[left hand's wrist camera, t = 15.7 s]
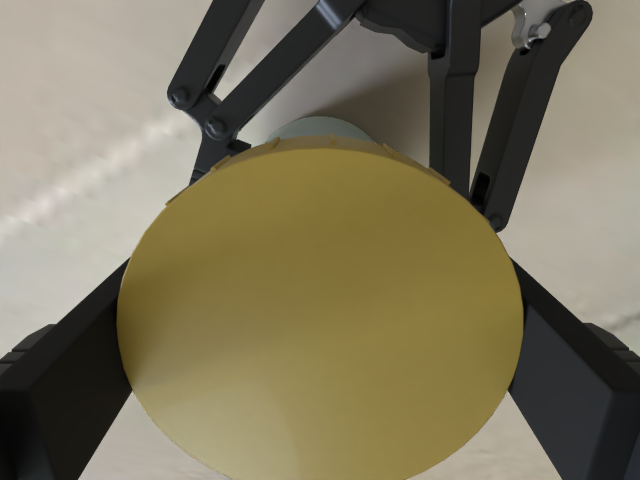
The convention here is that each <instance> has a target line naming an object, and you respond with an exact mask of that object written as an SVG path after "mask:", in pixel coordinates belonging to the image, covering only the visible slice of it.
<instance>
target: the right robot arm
mask: <svg viewBox="0 0 640 480" xmlns="http://www.w3.org/2000/svg"><path fill="white" fill-rule="evenodd" d="M264 1H265V0H213V2H212V3H211V5H210V7H209V9H208V11H207V13H206V15H205V17H204V19H203V21H202V23H201V25H200V27H199V29H198V31H197V33H196V34H195V36H194V38H193V40H192V42H191V44H190V46H189V48H188V50H187V52H186V54H185V56H184V58H183V60H182V62H181V64H180V65H179V67H178V69H177V71H176V73H175V75H174V77H173V79H172V81H171V83H170V85H169V87H168V91H167V96H168V100H169V102H170V104H171V105H173V106H174V107H175V108H177V109H179V110H182V111H184V112H185V113H186V114H187V115H188V116H190V117H191V118H192V119H193V120H194V121H195V122H196V123H197V124H198V125H199V127H200V129H201V132H202V142H201V145H200V149H199V152H198V156H197V159H196V162H195V166H194V170H193V173H192V176H191V180H190V183H189V186H191V185H193V184H194V183H195V182H196V181H198V180H199V179H200V178H202V177H203V176H204V175H205V174H207V173H208V172H209V171H211V168H212V167H213V166H214V165H216V164H217V163H218V162H220V161H221V160H222V159H224V158H225V157H226V156H228V155H230V157H233V156H235V155H237V154H240V153H242V152H244V151H246V150H248V149H250V148H251V144H248V143H246V142H243V141H241V140H238V139H237V140H236V138H237V135H238V132H239V131H241V129H242V128H243V127H244V126H245V125H246V124H247V123H248V122H249V121H250V120H251V119H252V118H253V117H254V116H255V115H256V114H257V113H258V112H259V111H260V110H261V109H262V108H263V107H264V106H265V105H266V104H267V103H268V102H269V101H270V100H271V99H272V98H273V97H274V96H275V95H276V94H277V93H278V92H279V91H280V90H281V89H282V88H283V87H284V86H285V85H286V84H287V83H288V82H289V81H290V80H291V79H292V78H293V77H294V76H295V75H296V74H297V73H298V72H299V71H300V70H301V69H302V68H303V67H304V66H305V65H306V64H307V63H308V62H309V61H310V60H311V59H312V58H313V57H315V56H316V55H317V54H318V53H319V52H320V51H321V50H322V49H323V48H324V47H325V46H326V45H327V44H328V43H329V42H330V41H331V40H332V39H333V38H334V37H335V36H336V35H337V34H338V33H339V32H341V31H342V30H343V29H344V28H345V27H346V26H347V25H348V24H349V23H350V22H351V21H352V20H353V19H354V18H355V17H356V18H357V20H359V21H360V22H361V24H360V25H361V26H363V27H365V28H367V29H369V30H372V31H374V32H378V33H385V34H393V35H395V36H396V37H397V38H398V39H399V40H400V41H402V42H403V43H404V44H405V45H406V46H407V47H409V48H412V49H414V50H416V51H418V52H421V53H425V52H428V75H429V78H430V150H429V167H431V168H432V169H434V170H435V171H436V172H438V173H439V174H440V175H442V176H443V177H444V178H446V179H447V180H448V181H450V182H451V183H450V184H449V186H450V187H451V188H452V189H454V190H455V191H456V192H457V193H459V194H460V195H461V196H463V197H464V198H465V199H466V200H467V201H468V202H469V203H470V204H471V205H472V206H473V207H474V208H475V209H476V210H477V211H478V212H479V213H480V214H482V215H483V216H484V217H485V218H487V219H488V220H489V222H490V223H489V225H490V226H491V227H492V229H493V230H494V232H495V233H497V232H500V231H502V230H503V229H504V228H505V227H506V225H507V223H508V221H509V218H510V215H511V212H512V209H513V206H514V203H515V200H516V197H517V194H518V191H519V188H520V185H521V182H522V179H523V176H524V173H525V170H526V167H527V164H528V161H529V158H530V155H531V152H532V149H533V146H534V143H535V140H536V137H537V135H538V132H539V129H540V126H541V123H542V120H543V117H544V114H545V111H546V108H547V105H548V102H549V99H550V96H551V93H552V90H553V87H554V84H555V81H556V78H557V75H558V72H559V69H560V66H561V64H562V63H563V61H564V60H565V59H566V57H567V56H568V54H569V53H570V52H571V50H572V49H573V47H574V46H575V44H576V43H577V42H578V40H579V39H580V37H581V36H582V34H583V33H584V32H585V30H586V29H587V27H588V26H589V24H590V22H591V20H592V15H593V11H592V7H591V5H590V4H589V3H588V2H587V1H584V0H576V1H573V2H570V3H565V2H563V1H562V0H319V1H318V2H317V4H316V5H315V6H314V7H313V8H312V9H311V10H310V11H309V12H308V13H307V15H306V16H305V17H304V18H303V19H302V20H301V21H300V22H299V23H298V24H297V25H296V26H295V27H294V28H293V29H292V30H291V31H290V32H289V33H288V34H287V35H286V36H285V37H284V38H283V39H282V40H281V41H280V42H279V43H278V44H277V45H276V46H275V47H274V49H273V50H272V51H271V52H270V53H269V54H268V55H267V56H266V57H265V58H264V59H263V60H262V61H261V62H260V63H259V64H258V65H257V66H256V67H255V68H254V69H253V70H252V71H251V72H250V73H249V74H248V75H247V76H246V77H245V78H244V79H243V80H242V81H241V82H240V84H239V85H238V86H237V87H236V88H235V89H234V90H233V91H232V92H231V93H230V94H229V95H228V96H227V97H226V98H225V99H224V100H223V101H221V100H220V99H219V98H218V97H217V96H215V95H214V94H213V93H214V91H215V89H216V88H217V86H218V84H219V82H220V80H221V79H222V77H223V75H224V73H225V71H226V69H227V68H228V66H229V64H230V62H231V60H232V59H233V57H234V55H235V53H236V51H237V50H238V48H239V46H240V44H241V42H242V41H243V39H244V37H245V35H246V33H247V32H248V30H249V28H250V26H251V24H252V23H253V21H254V19H255V17H256V15H257V14H258V12H259V10H260V8H261V6H262V5H263V3H264ZM509 10H511V11H512V12H513V13H514V15H515V20H516V21H515V27H514V29H513V32H512V37H511V39H512V43H513V45H514V47H515V48H516V49H515V51H514V52H513V54H512V56H511V58H510V60H509V63H508V65H507V68H506V71H505V74H504V77H503V80H502V84H501V87H500V90H499V94H498V97H497V101H496V104H495V107H494V111H493V114H492V118H491V121H490V124H489V128H488V131H487V135H486V138H485V141H484V145H483V148H482V152H481V155H480V158H479V162H478V165H477V168H476V172H475V175H474V179H473V182H472V185H471V189H470V192H469V178H470V157H471V135H472V114H473V92H474V78H475V75H476V73H477V71H478V67H479V58H480V38H481V28H483V27H484V26H486V25H487V24H489V23H490V22H492V21H494V20H495V19H497V18H498V17H500V16H501V15H503V14H504V13H506V12H507V11H509Z"/></svg>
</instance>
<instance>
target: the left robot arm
mask: <svg viewBox="0 0 640 480" xmlns="http://www.w3.org/2000/svg"><path fill="white" fill-rule="evenodd" d="M130 258H131V257H130ZM130 258H129V259H127V260H126V261H125V262H124V263H123V264H122V265H121V266H120V267H119V268H118V269H116V270H115V271H114V272H113V273H112V274H111V275H110V276H109V277H108V278H107V279H105V280H104V281H103V282H102V283H101V284H100V285H99V286H98V287H97V288H96V289H95V290H93V291H92V292H91V293H90V294H89V295H88V296H87V297H86V298H85V299H84V300H82V301H81V302H80V303H79V304H78V305H77V306H76V307H75V308H74V309H73V310H71V311H70V312H69V313H68V314H67V315H66V316H65V317H64V318H63V319H62V320H60V321H59V322H58V323H57V324H49V325H47V326H45V327H43V328H41V329H40V330H38V331H36V332H34V333H32V334H30V335H28V336H27V337H26V338H25V339H24V340H22V341H21V342H20V343H19V344H18V345H17V346H15V347H14V348H13V349H12V352H8V353H7V354H6V355H5V356H4V357H3V358H1V359H0V480H78V479H79V477H80V475H81V474H82V472H83V470H84V469H85V467H86V465H87V464H88V462H89V461H90V459H91V457H92V456H93V454H94V452H95V451H96V449H97V448H98V446H99V444H100V443H101V441H102V439H103V438H104V436H105V434H106V433H107V431H108V430H109V428H110V426H111V425H112V423H113V421H114V420H115V418H116V417H117V415H118V413H119V412H120V410H121V408H122V407H123V405H124V403H125V402H126V400H127V399H128V397H129V395H130V394H131V392H132V388H131V385H130V383H129V380H128V378H127V375H126V373H125V371H124V368H123V363H122V358H121V354H120V349H119V343H118V338H117V327H116V320H117V303H118V297H119V292H120V288H121V283H122V279H123V275H124V273H125V270H126V268H127V265H128V263H129V260H130ZM510 259H511V261H512V264H513V267H514V270H515V273H516V276H517V279H518V282H519V285H520V290H521V297H522V303H523V309H524V334H523V339H522V344H521V350H520V355H519V359H518V364H517V367H516V370H515V374H514V377H513V379H512V381H511V383H510V385H509V387H508V392H509V393H510V395H511V397H512V398H513V400H514V401H515V403H516V405H517V406H518V408H519V410H520V411H521V413H522V414H523V416H524V418H525V419H526V421H527V423H528V424H529V426H530V428H531V429H532V431H533V432H534V434H535V436H536V437H537V439H538V441H539V442H540V444H541V446H542V447H543V449H544V450H545V452H546V454H547V455H548V457H549V459H550V460H551V462H552V463H553V465H554V467H555V468H556V470H557V472H558V473H559V475H560V477H561V478H562V480H640V357H639V356H638V355H636V354H635V353H634V352H633V351H629V348H628V347H627V346H626V345H625V344H624V343H622V342H621V341H620V340H619V339H618V338H617V337H615V336H614V335H613V334H611V333H609V332H607V331H606V330H604V329H602V328H600V327H598V326H596V325H594V324H592V323H582V322H581V321H580V320H579V319H578V318H577V317H575V316H574V315H573V314H572V313H571V312H570V311H569V310H568V309H567V308H566V307H564V306H563V305H562V304H561V303H560V302H559V301H558V300H557V299H556V298H555V297H553V296H552V295H551V294H550V293H549V292H548V291H547V290H546V289H545V288H544V287H542V286H541V285H540V284H539V283H538V282H537V281H536V280H535V279H534V278H533V277H531V276H530V275H529V274H528V273H527V272H526V271H525V270H524V269H523V268H522V267H520V266H519V265H518V264H517V263H516V262H515V261H514V260H513V259H512V258H511V257H510Z"/></svg>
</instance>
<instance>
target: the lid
mask: <svg viewBox="0 0 640 480" xmlns="http://www.w3.org/2000/svg"><path fill="white" fill-rule="evenodd" d="M450 183H451V182H450V181H448V180H447V179H446V178H444V177H443V176H442V175H440V174H439V173H438V172H436V171H435V170H434V169H432V168H431V167H429V168H428V169H426V168H425V167H424V166H422V165H421V164H419V163H418V162H416V161H414V160H412V159H410V158H409V157H407V156H405V155H403V154H401V153H399V152H397V151H395V150H393V149H392V148H391V147H390V146H388V145H387V144H386V143H383V144H382V146H381V145H379V144H376V143H373V142H368V141H364V140H360V139H355V138H351V137H341V136H335V135H334V133H333V132H330V135H314V136H297V137H292V138H286V139H280V137H275V138H274V140H273V141H271V142H268V143H265V144H262V145H259V146H256V147H253V148H250V149H248V150H246V151H244V152H242V153H240V154H237V155H235V156H233V157H230V155H228V156H226V157H225V158H224V159H222V160H221V161H220V162H218V163H217V164H216V165H214V166H213V167H212V168H211V171H209V172H208V173H207V174H205V175H204V176H203V177H202V178H200V179H199V180H198V181H196V182H195V183H194V184H193V185H191V186H187V187H186V188H185V189H183V190H182V191H181V192H179V193H178V194H177V195H176V196H174V197H173V198H172V199H170V200H169V201H168V202H167V203H166V204H165V205H166V206H167V207H166V208H165V209H164V210H163V211H162V212H161V213H160V214H159V215H158V217H157V218H156V219H155V220H154V221H153V223H152V224H151V225H150V226H149V228H148V229H147V230H146V231H145V233H144V234H143V236H142V238H141V239H140V241H139V243H138V245H137V246H136V248H135V250H134V251H133V253H132V255H131V258H130V260H129V263H128V265H127V268H126V270H125V273H124V275H123V279H122V283H121V288H120V292H119V297H118V303H117V320H116V327H117V338H118V343H119V349H120V354H121V358H122V363H123V368H124V371H125V373H126V375H127V378H128V380H129V383H130V385H131V388H132V390H133V392H134V393H135V395H136V397H137V398H138V400H139V402H140V404H141V405H142V407H143V409H144V410H145V411H146V413H147V414H148V415H149V417H150V418H151V419H152V420H153V422H154V423H155V424H156V426H157V427H158V428H159V429H160V430H161V431H162V432H163V433H164V434H165V435H166V436H167V437H168V438H169V439H170V440H171V441H172V442H173V443H175V444H176V445H177V446H178V447H180V448H181V449H182V450H183V451H185V452H186V453H187V454H188V455H190V456H191V457H193V458H194V459H196V460H197V461H199V462H201V463H202V464H204V465H205V466H207V467H209V468H211V469H213V470H215V471H217V472H219V473H221V474H223V475H225V476H227V477H229V478H232V479H234V480H406V479H408V478H410V477H413V476H415V475H417V474H419V473H422V472H424V471H426V470H428V469H429V468H431V467H433V466H434V465H436V464H438V463H440V462H441V461H443V460H445V459H446V458H447V457H449V456H450V455H451V454H453V453H454V452H456V451H457V450H458V449H460V448H461V447H462V446H463V445H464V444H465V443H467V442H468V441H469V440H470V439H471V438H472V437H473V436H474V435H475V434H476V433H477V432H478V431H479V430H480V429H481V428H482V427H483V425H484V424H485V423H486V422H487V421H488V419H489V418H490V417H491V416H492V415H493V413H494V411H495V410H496V408H497V407H498V405H499V404H500V402H501V401H502V399H503V398H504V396H505V394H506V392H507V390H508V387H509V385H510V383H511V381H512V379H513V377H514V374H515V370H516V367H517V364H518V359H519V355H520V350H521V344H522V339H523V334H524V309H523V303H522V297H521V290H520V285H519V282H518V279H517V276H516V273H515V270H514V267H513V264H512V261H511V259H510V257H509V255H508V253H507V251H506V249H505V248H504V246H503V244H502V242H501V240H500V238H499V237H498V236H497V234H496V233H495V232H494V230H493V229H492V227H491V226H490V225H489V223H490V222H489V220H488V219H487V218H485V217H484V216H483V215H482V214H480V213H479V212H478V211H477V210H476V209H475V208H474V207H473V206H472V205H471V204H470V203H469V202H468V201H467V200H466V199H465V198H464V197H463V196H461V195H460V194H459V193H457V192H456V191H455V190H454V189H452V188H451V187H450V186H449V184H450Z"/></svg>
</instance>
